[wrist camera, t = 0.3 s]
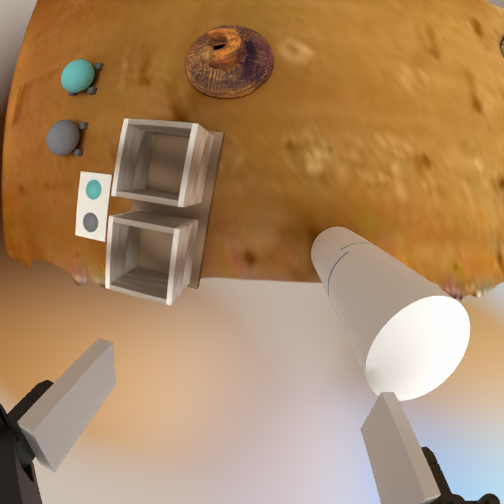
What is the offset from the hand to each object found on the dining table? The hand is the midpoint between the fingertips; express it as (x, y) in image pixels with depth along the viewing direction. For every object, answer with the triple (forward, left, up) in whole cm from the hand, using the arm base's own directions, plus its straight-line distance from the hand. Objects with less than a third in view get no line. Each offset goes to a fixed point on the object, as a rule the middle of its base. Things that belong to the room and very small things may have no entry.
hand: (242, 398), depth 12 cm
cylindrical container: (-2, +10, -28) cm, 29 cm away
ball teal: (-22, -32, -27) cm, 48 cm away
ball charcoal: (-12, -32, -27) cm, 44 cm away
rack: (-4, -13, -27) cm, 31 cm away
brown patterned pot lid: (-25, -9, -28) cm, 39 cm away
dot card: (-2, -26, -27) cm, 38 cm away
